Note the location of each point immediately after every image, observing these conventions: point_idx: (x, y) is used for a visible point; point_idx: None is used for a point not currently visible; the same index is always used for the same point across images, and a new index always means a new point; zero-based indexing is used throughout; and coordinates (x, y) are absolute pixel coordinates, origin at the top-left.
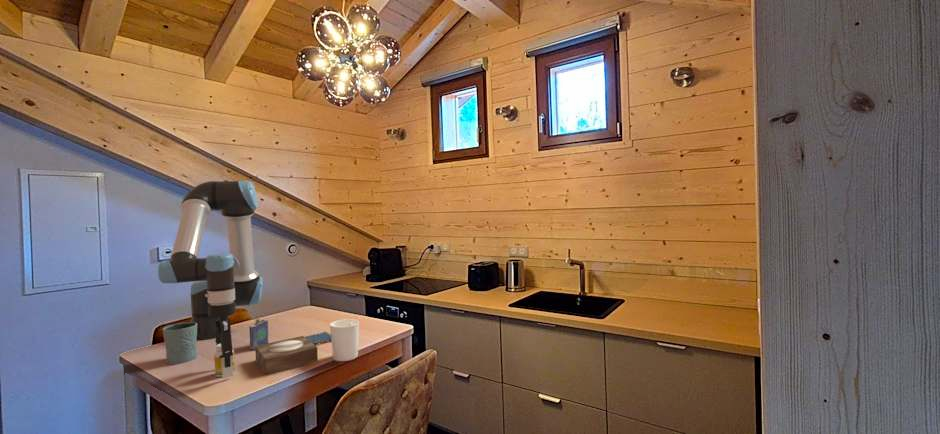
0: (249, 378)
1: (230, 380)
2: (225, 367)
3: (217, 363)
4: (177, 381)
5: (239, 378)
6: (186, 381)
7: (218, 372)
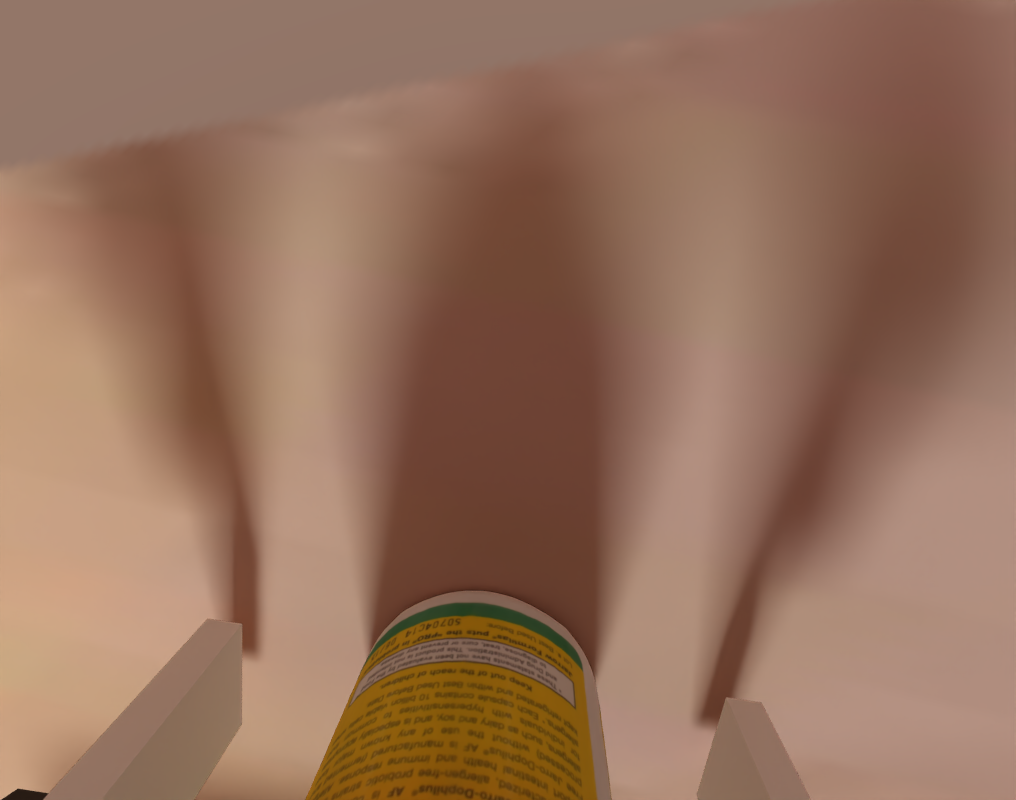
0: None
1: None
2: (12, 797)
3: (352, 779)
4: (759, 130)
5: None
6: (626, 244)
7: (394, 645)
